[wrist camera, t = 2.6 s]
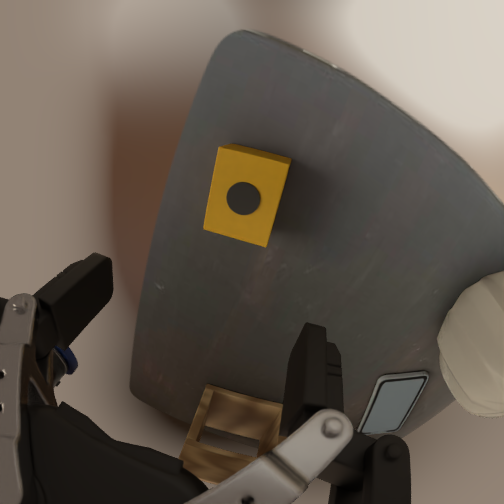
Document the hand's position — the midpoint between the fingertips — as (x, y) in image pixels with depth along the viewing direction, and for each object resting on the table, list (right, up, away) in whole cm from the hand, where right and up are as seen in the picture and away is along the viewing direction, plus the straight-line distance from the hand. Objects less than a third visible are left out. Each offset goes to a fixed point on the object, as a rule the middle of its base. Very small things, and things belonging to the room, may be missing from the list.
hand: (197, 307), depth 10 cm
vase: (+28, -5, +13) cm, 31 cm away
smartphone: (+22, -20, +22) cm, 36 cm away
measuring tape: (+2, +7, +12) cm, 15 cm away
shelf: (0, -23, +27) cm, 35 cm away
